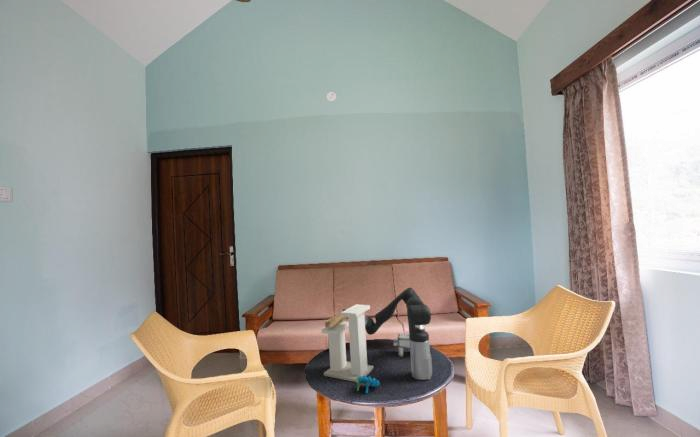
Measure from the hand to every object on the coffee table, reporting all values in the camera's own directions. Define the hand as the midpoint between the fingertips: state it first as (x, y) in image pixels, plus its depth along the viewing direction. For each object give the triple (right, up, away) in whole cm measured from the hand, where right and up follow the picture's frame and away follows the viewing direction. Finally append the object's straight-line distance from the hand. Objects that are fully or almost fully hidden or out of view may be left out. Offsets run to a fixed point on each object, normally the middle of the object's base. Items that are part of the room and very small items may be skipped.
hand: (346, 311), depth 168 cm
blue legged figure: (+10, -26, -32) cm, 42 cm away
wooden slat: (-3, -3, -6) cm, 8 cm away
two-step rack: (+2, -26, -14) cm, 30 cm away
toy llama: (+36, -25, +3) cm, 44 cm away
